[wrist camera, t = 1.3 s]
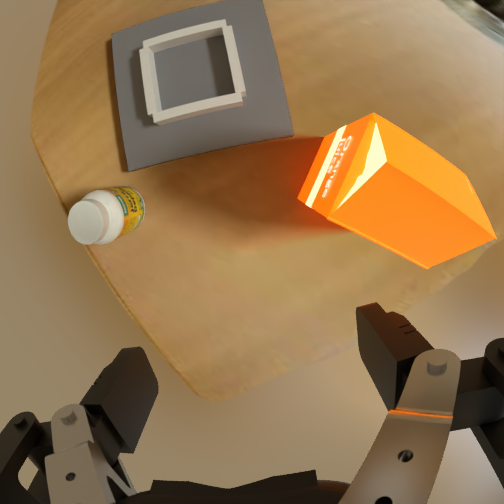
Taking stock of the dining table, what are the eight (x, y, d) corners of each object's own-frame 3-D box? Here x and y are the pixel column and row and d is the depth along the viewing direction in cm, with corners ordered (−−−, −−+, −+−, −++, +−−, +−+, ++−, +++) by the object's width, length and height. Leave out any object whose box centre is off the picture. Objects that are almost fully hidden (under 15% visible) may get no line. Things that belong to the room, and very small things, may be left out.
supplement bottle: (98, 210, 33) (52, 224, 24) (124, 176, 32) (80, 179, 23) (128, 240, 34) (89, 263, 25) (155, 207, 33) (120, 220, 24)
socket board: (116, 38, 27) (104, 28, 24) (260, 1, 26) (260, -14, 23) (133, 171, 32) (121, 171, 29) (292, 136, 31) (296, 132, 27)
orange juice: (364, 232, 33) (470, 300, 14) (295, 199, 33) (350, 238, 13) (391, 171, 31) (518, 180, 12) (324, 135, 31) (411, 90, 11)
